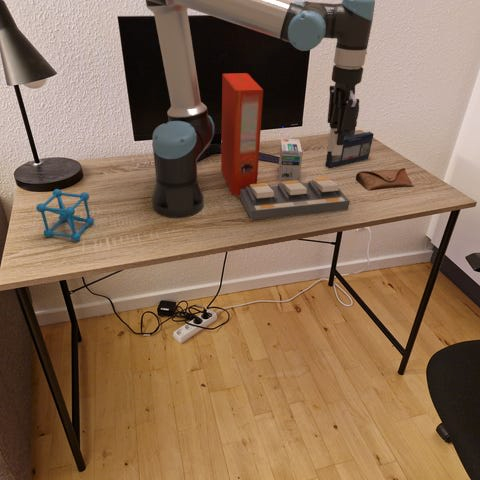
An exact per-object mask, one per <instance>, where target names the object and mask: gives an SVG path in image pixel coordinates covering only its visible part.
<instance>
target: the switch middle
mask: <svg viewBox="0 0 480 480" xmlns="http://www.w3.org/2000/svg"><path fill="white" fill-rule="evenodd" d="M300 182H301V181H297V180H293V181H281V183H280V184H281V186H282V187H283V189H284V190H285V191H286V192H287V193H289V194H290V195H297V194H307V188H306V187H305V186H303V185H302V184H301V183H302V182H301V183H300Z"/></svg>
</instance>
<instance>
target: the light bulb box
mask: <svg viewBox="0 0 480 480" xmlns="http://www.w3.org/2000/svg"><path fill="white" fill-rule="evenodd" d="M279 145H280V146H279V156H278V157H279V159H278V172H279V181H280V182H283V181H293V180H297V181H299V182H301V181H300V179H301V171H302V160H303V152H304V151H303V148H302V145H301V139H297V138H295V139H293V138H280V144H279Z"/></svg>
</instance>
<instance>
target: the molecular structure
mask: <svg viewBox="0 0 480 480" xmlns="http://www.w3.org/2000/svg"><path fill="white" fill-rule="evenodd" d="M62 196H64V197H65V196H66V197H73V198H79V200H78V201H76V202H75V203H74V205H72V206H67V207H65V203H64V202H63V200H62ZM55 198H56V199H57V204H58V208H57V207H49V206H48V204H50V203H51V202H52V201H53V200H55ZM89 199H90V195H89V193H88V192H85V191H83V192H82V193H80V194H77V193H71V192H63V191H62V190H61V189H60V188H59V189H58V188H55V189H54V190H53V191H52V196H51V197H50V198H48V199H47V200H45V202H44V203H42V202H41V203H38V204H37V205H36V211H37V212H38V213H40V214H41V217H42V221H43V224H44V228H45V230H43V236H44V237H45V238H48V239H49V238H51V237H53V236H57V237H64V238H70V239H71V240H72V241H73V242H78V241H80V240H81V234H82V233H83V232H84V231H85V229H86V228H87V227H88V226H92V225H94V223H95V219H94V218H93V217H91V216H90V215H91V214H90V210H89V206H88V201H89ZM82 202H83V204H84V208H85V213H86V218H85V217H81V216H78V215H75V213H76V210H75V209H76V208H77V207H78V206H79V205H80V204H82ZM45 212H48V213H49V212H50V213H54V214H57V215H59V216H58V221H57V222H56V223H55V224H53V226H51V228H50V227H49V225H48V222H47V217H46V213H45ZM66 222H67V223H68V225H69V227H70V230H71V232H72V233H71V234H70V233H69V234H67V233H61V232H54V230H55V229H56V228H57V227H59V226H60V224H61V223H66ZM75 222H84V223H85V224H84V225H83V226H82V227H81V228H80V229H79V230H78V231H77V230H76V225H75Z"/></svg>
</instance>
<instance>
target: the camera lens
mask: <svg viewBox="0 0 480 480" xmlns="http://www.w3.org/2000/svg"><path fill="white" fill-rule="evenodd" d="M359 112H360V103H359V104H358V106H357V108H356V112H355V116H354V120H353V124H352V128H351V131H350V134H345V137H346V136H351V135H356V134H355V133H356V127H357V125H358V121H357V120H358V117H359V114H360V113H359Z"/></svg>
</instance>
